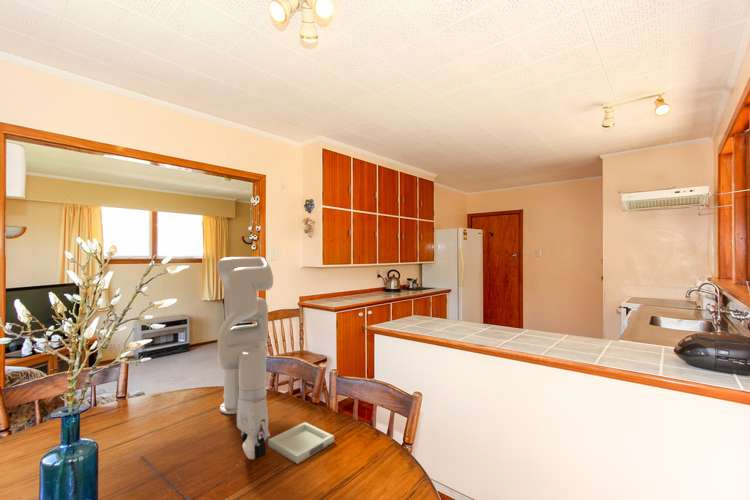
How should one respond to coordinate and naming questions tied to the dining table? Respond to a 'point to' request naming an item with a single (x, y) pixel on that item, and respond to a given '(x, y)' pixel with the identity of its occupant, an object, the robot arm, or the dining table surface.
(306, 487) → the dining table surface
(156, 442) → the dining table surface
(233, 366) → the robot arm
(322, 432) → the tray
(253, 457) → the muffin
